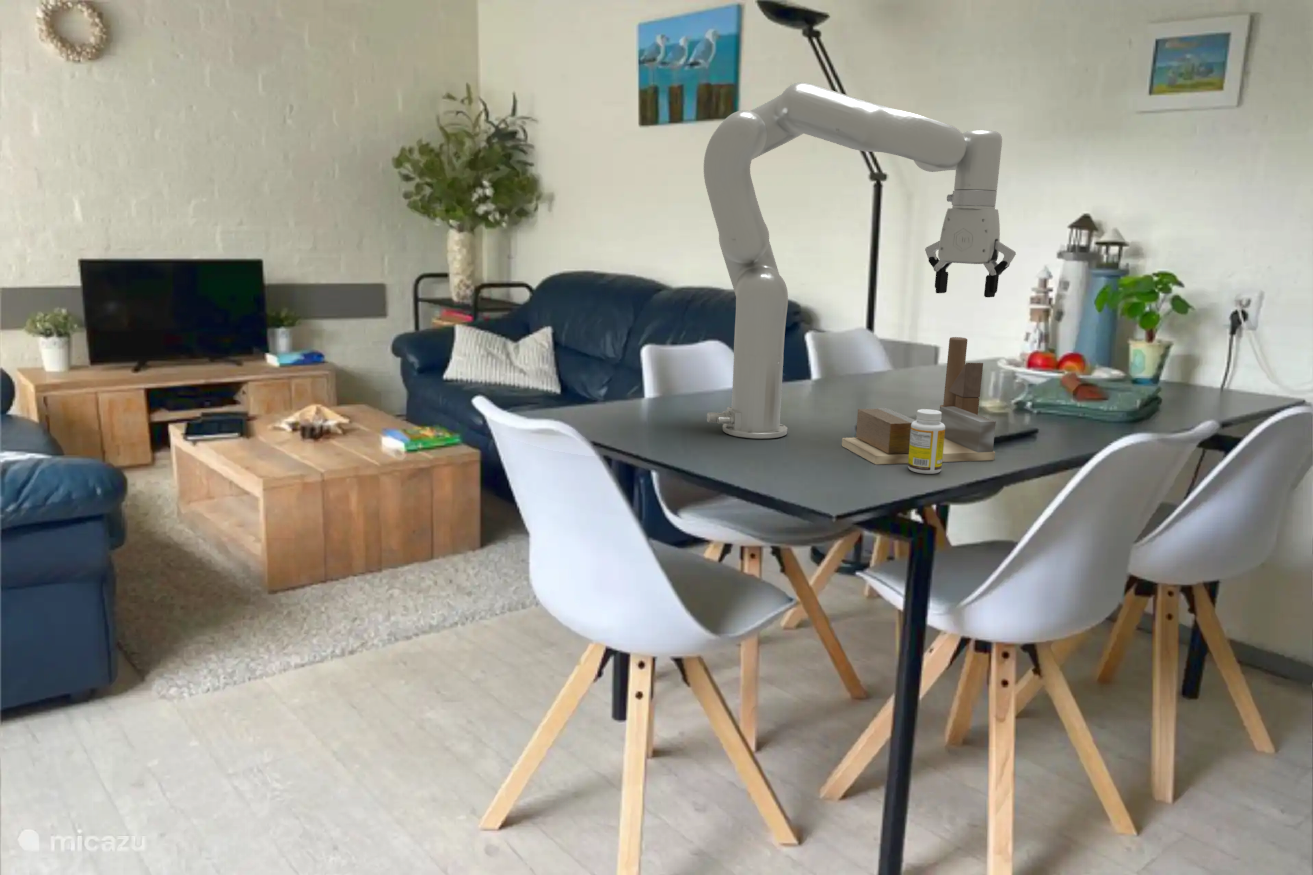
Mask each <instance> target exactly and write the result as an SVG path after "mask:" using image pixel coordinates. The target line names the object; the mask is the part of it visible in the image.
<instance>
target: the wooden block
mask: <svg viewBox="0 0 1313 875" xmlns="http://www.w3.org/2000/svg"><path fill="white" fill-rule="evenodd" d="M967 347H968V339H967V338H966V337H961V336H960V337H959V336H958V337H957V336H952V337H950V338H949V341H948V349H947V350H948V351H947V361H946V362H947V363H946V373H945V383H944V384H945V385H944V394H943V402H942V404H941V405H939V408H940V407H951V406H954V407H957V408H960V409H963V410H965V411H968V412H971V413H974V414H976V415H979V409H980V408H979V406H980V397H981V388H982V379H983V369H984V363H983V362H966V359H967V351H968V350H967Z"/></svg>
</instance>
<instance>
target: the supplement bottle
mask: <svg viewBox="0 0 1313 875" xmlns="http://www.w3.org/2000/svg"><path fill="white" fill-rule="evenodd" d="M941 414H942V413H941V412H940V410H936V409H930V408H927V409H926V408H920V409H917V411H916V416H915V417H916V418H915V420H916V421H914V422H912V424H911V432H910V445H909V457H908V463H907V468H908V469H909V470H910V471H911V472H914V473H918V474H923V475H924V474H925V475H933V474H939V473H940V472H941V471H942V469H943V462H942V459H943V448H944V436H945V425H944V424H943V423H941Z"/></svg>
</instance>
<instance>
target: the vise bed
mask: <svg viewBox="0 0 1313 875" xmlns="http://www.w3.org/2000/svg"><path fill="white" fill-rule="evenodd" d="M939 411H940V412H941V413H942V414H941V423H943V424H944V425H945V436H944V448H943V459H942V463H949V462H950V463H951V462H953V463H954V462H975V461H976V462H977V461H978V462H981V461H995V457H996V451H994V444H995V443H994V442H995V434H996V426H997V424H996V423H997V421H996V420H992V419H990V418H986V417H984V416H982V415H979V414H978V415H976V414H974V413H971V412H968V411H965V410H963V409H960V408H957V407H954V406H951V407H940V406H939ZM841 446H842V447H843V448H844V449H846V450H848V451H850V452H852V453H854V454H856V455H857V456H860V457H861V458H863V459H864V460H867V461H868V462H871V463H872V464H874V465H896V464H897V465H899V464H908V457H909V453H895V454H888V453H886V452H884V451H882V450H880V449H878V448H876V447H874V446H872V445H870V444H868V443H866V442H864V441H863V440H861V439H859V438H857V437H842V438H841Z"/></svg>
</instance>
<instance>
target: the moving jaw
mask: <svg viewBox="0 0 1313 875" xmlns="http://www.w3.org/2000/svg"><path fill="white" fill-rule="evenodd" d="M914 421H916V419H915V418H911V417H910V416H907V415H906V414H905V415H904V414H902V413H901V412H898V411H896V410H895V411H894V410H893V409H891V408H887V407H876V408H858V409H857V417H856V430H855V432H856V433H855V438H859V439H861V440H863V441H864V442H866V443H868V444H870V445H872V446H874V447H876V448H878V449H880V450H882V451H884V452H886V453H888V454H895V453H909V445H910V432H911V424H912V422H914Z"/></svg>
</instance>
